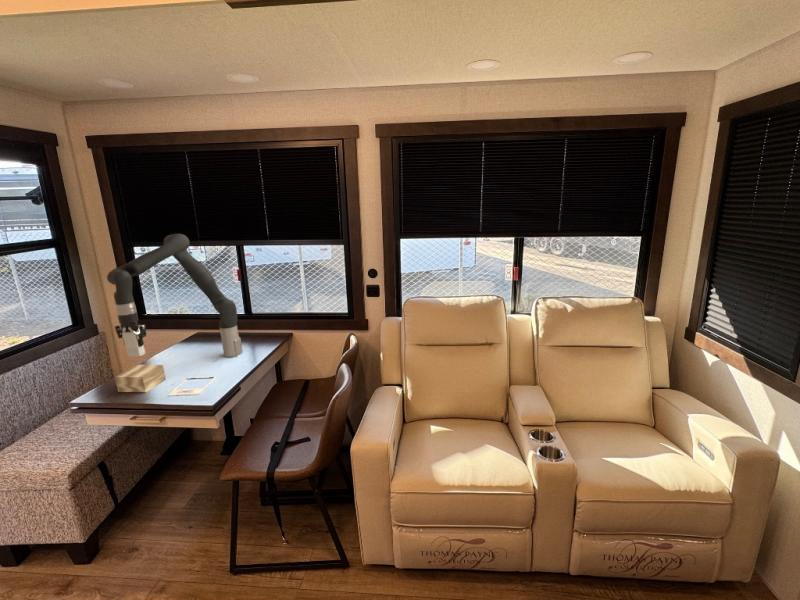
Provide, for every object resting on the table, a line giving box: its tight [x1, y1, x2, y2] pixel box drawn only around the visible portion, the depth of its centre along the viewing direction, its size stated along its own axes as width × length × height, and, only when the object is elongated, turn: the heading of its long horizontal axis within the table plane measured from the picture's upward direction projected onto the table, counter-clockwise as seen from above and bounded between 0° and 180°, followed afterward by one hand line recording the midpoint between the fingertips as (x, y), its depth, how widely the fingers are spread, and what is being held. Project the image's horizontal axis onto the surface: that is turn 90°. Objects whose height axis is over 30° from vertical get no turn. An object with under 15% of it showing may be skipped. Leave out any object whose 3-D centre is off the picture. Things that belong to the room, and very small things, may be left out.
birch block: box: [114, 364, 167, 393], centre depth 190 cm, size 14×14×8 cm
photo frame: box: [167, 376, 217, 397], centre depth 188 cm, size 15×1×18 cm
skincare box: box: [122, 330, 146, 357], centre depth 185 cm, size 6×4×12 cm
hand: (134, 346), depth 186 cm, fingers closed on skincare box, 6 cm apart
